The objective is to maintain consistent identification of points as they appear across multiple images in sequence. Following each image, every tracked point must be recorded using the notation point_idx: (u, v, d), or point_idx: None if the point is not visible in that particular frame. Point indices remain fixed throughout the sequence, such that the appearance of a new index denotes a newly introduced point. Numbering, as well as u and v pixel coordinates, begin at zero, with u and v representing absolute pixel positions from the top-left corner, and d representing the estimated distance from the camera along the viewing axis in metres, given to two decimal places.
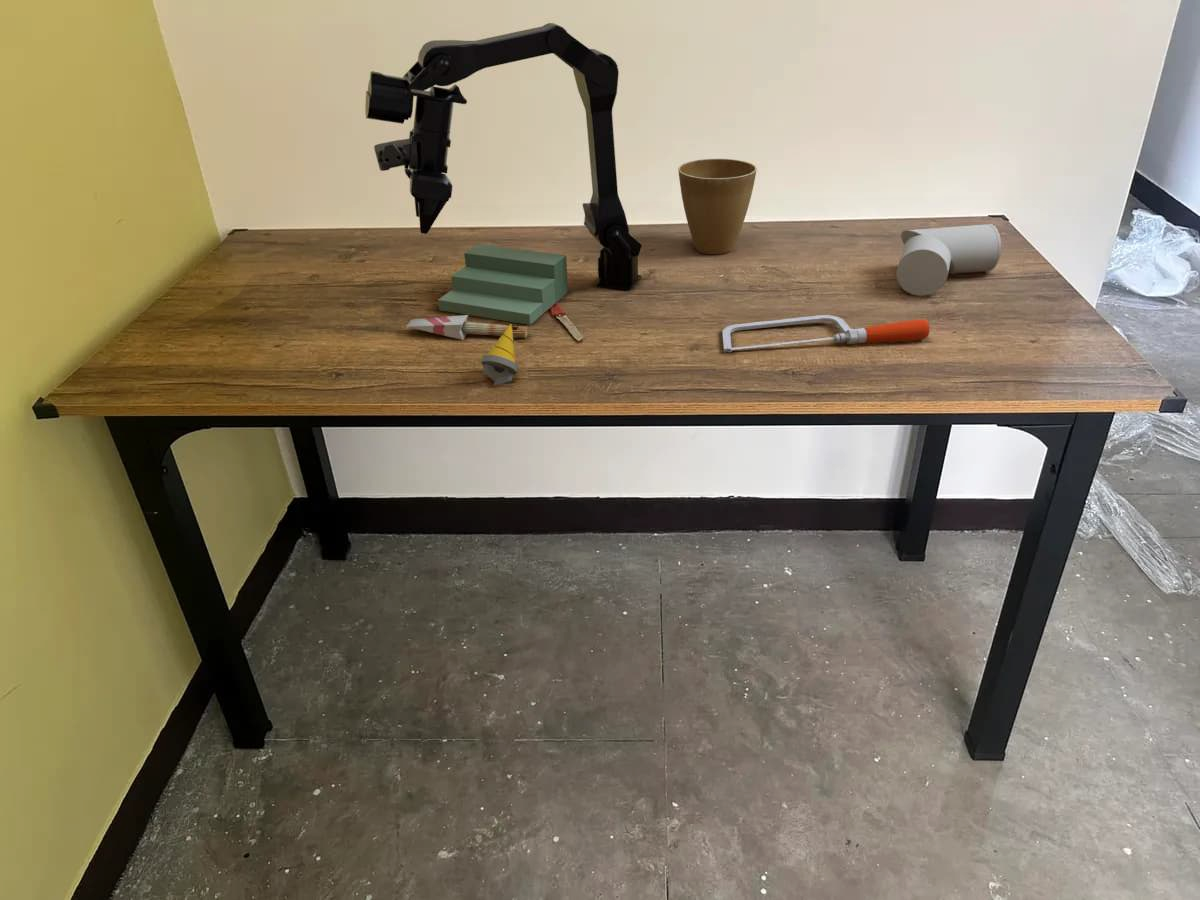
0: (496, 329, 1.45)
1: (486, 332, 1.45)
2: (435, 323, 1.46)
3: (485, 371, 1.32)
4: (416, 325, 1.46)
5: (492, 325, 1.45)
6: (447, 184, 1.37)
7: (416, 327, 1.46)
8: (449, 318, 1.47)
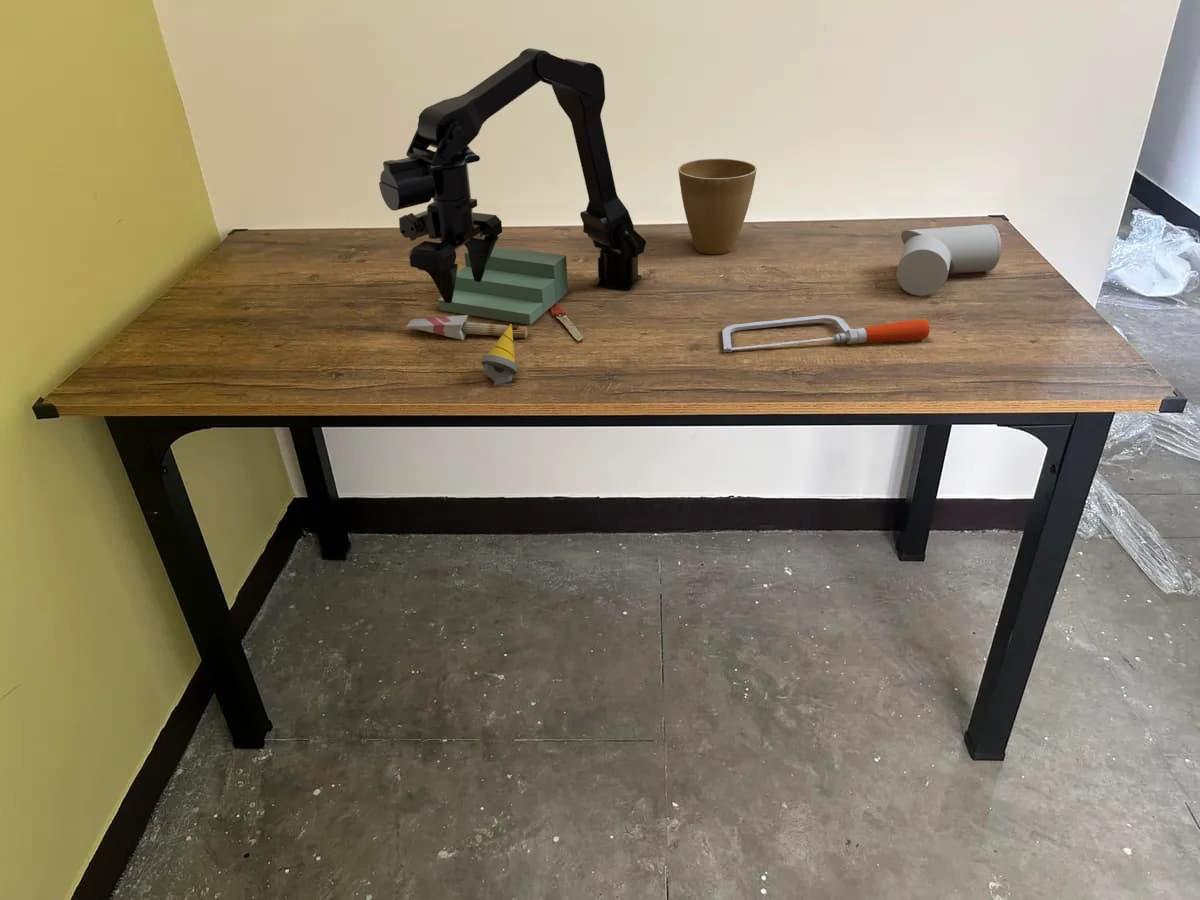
0: (496, 329, 1.45)
1: (486, 332, 1.45)
2: (435, 323, 1.46)
3: (485, 371, 1.32)
4: (416, 325, 1.46)
5: (492, 325, 1.45)
6: (437, 257, 1.30)
7: (416, 327, 1.46)
8: (449, 318, 1.47)
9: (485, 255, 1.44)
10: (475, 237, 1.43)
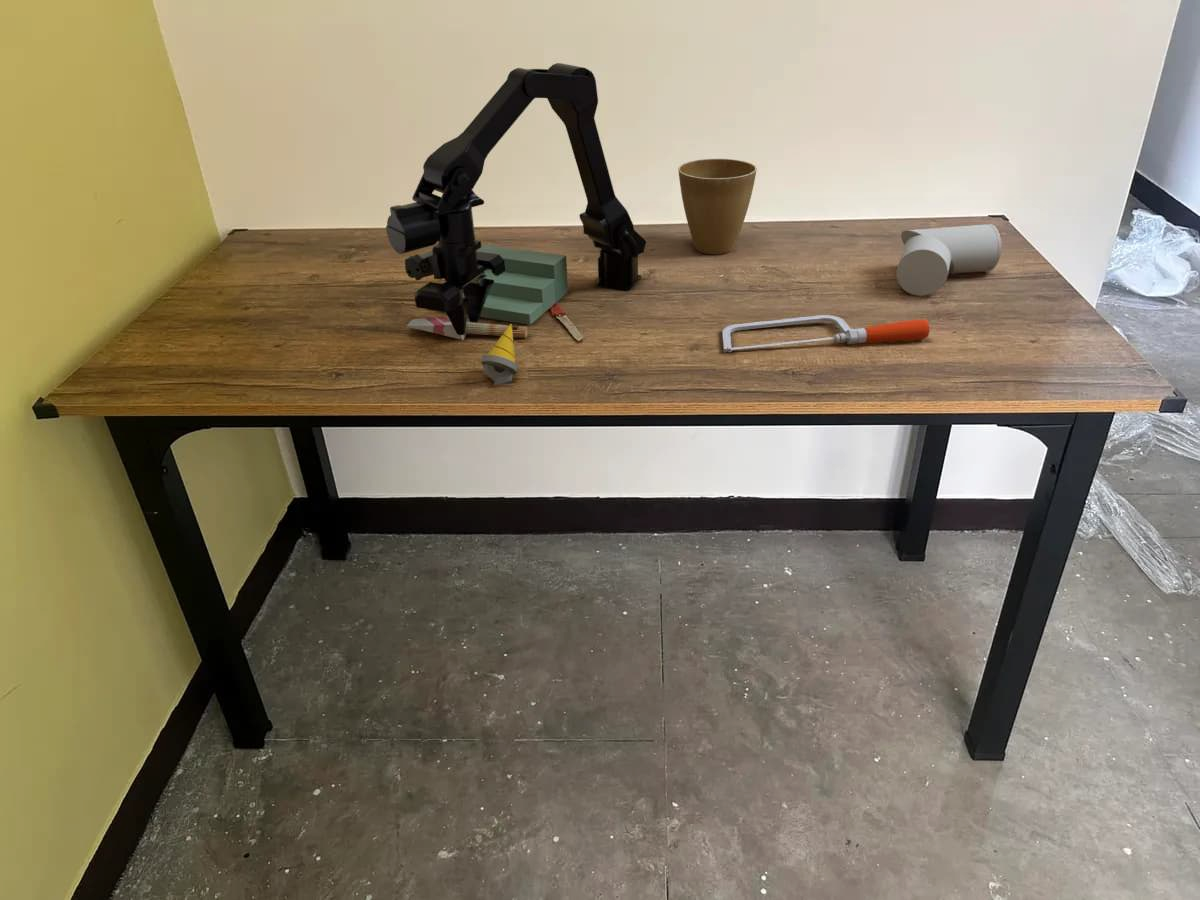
0: (496, 329, 1.45)
1: (486, 331, 1.45)
2: (435, 323, 1.46)
3: (485, 371, 1.32)
4: (416, 325, 1.46)
5: (492, 325, 1.45)
6: (442, 298, 1.34)
7: (416, 327, 1.46)
8: None
9: (481, 299, 1.45)
10: (471, 281, 1.45)
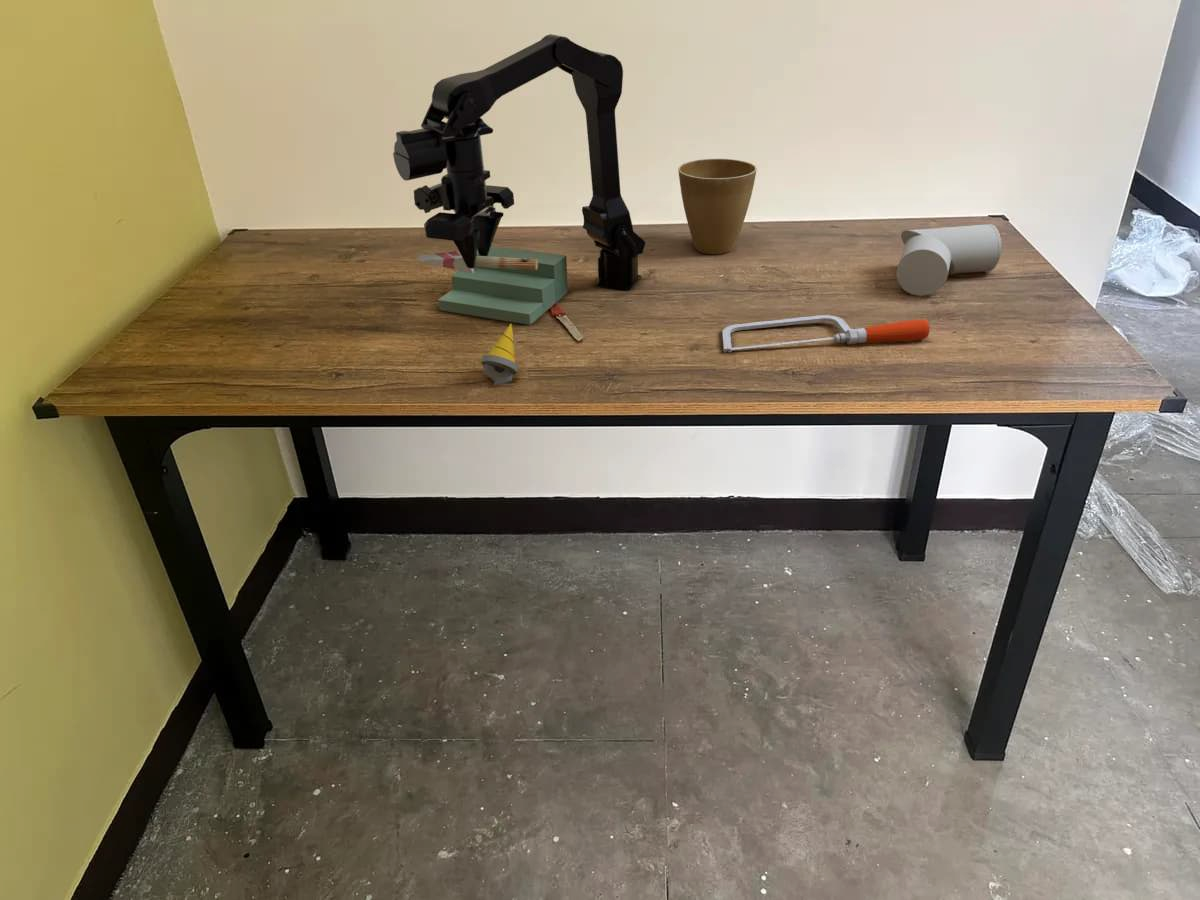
0: (506, 262, 1.44)
1: (496, 265, 1.44)
2: (445, 257, 1.45)
3: (485, 371, 1.32)
4: (426, 259, 1.46)
5: (502, 258, 1.44)
6: (452, 227, 1.33)
7: (426, 261, 1.45)
8: (459, 252, 1.46)
9: (490, 232, 1.44)
10: (480, 214, 1.44)
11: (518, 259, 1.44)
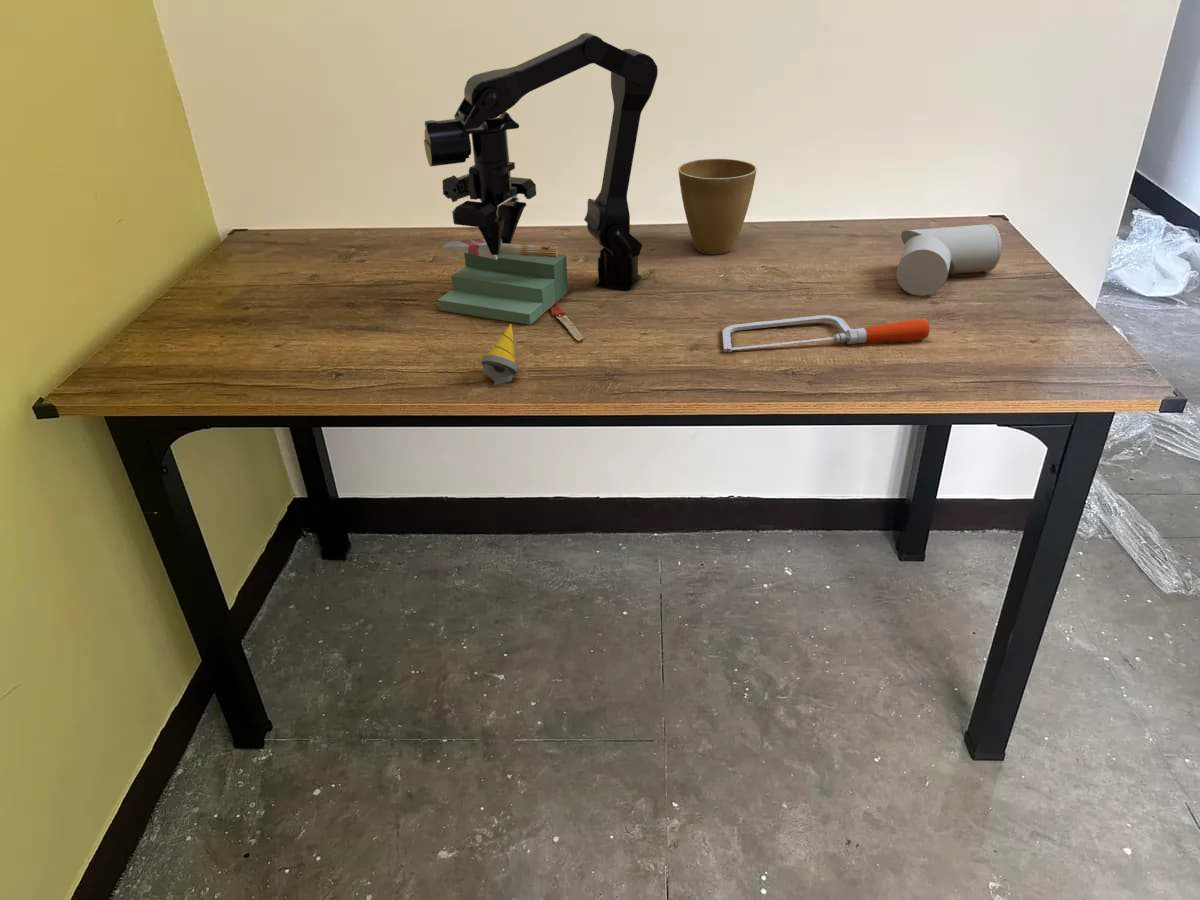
0: (528, 249, 1.52)
1: (519, 252, 1.52)
2: (470, 244, 1.53)
3: (485, 371, 1.32)
4: (452, 246, 1.53)
5: (524, 245, 1.52)
6: (479, 214, 1.41)
7: (452, 248, 1.53)
8: (483, 239, 1.54)
9: (514, 220, 1.52)
10: (504, 204, 1.52)
11: (539, 247, 1.52)
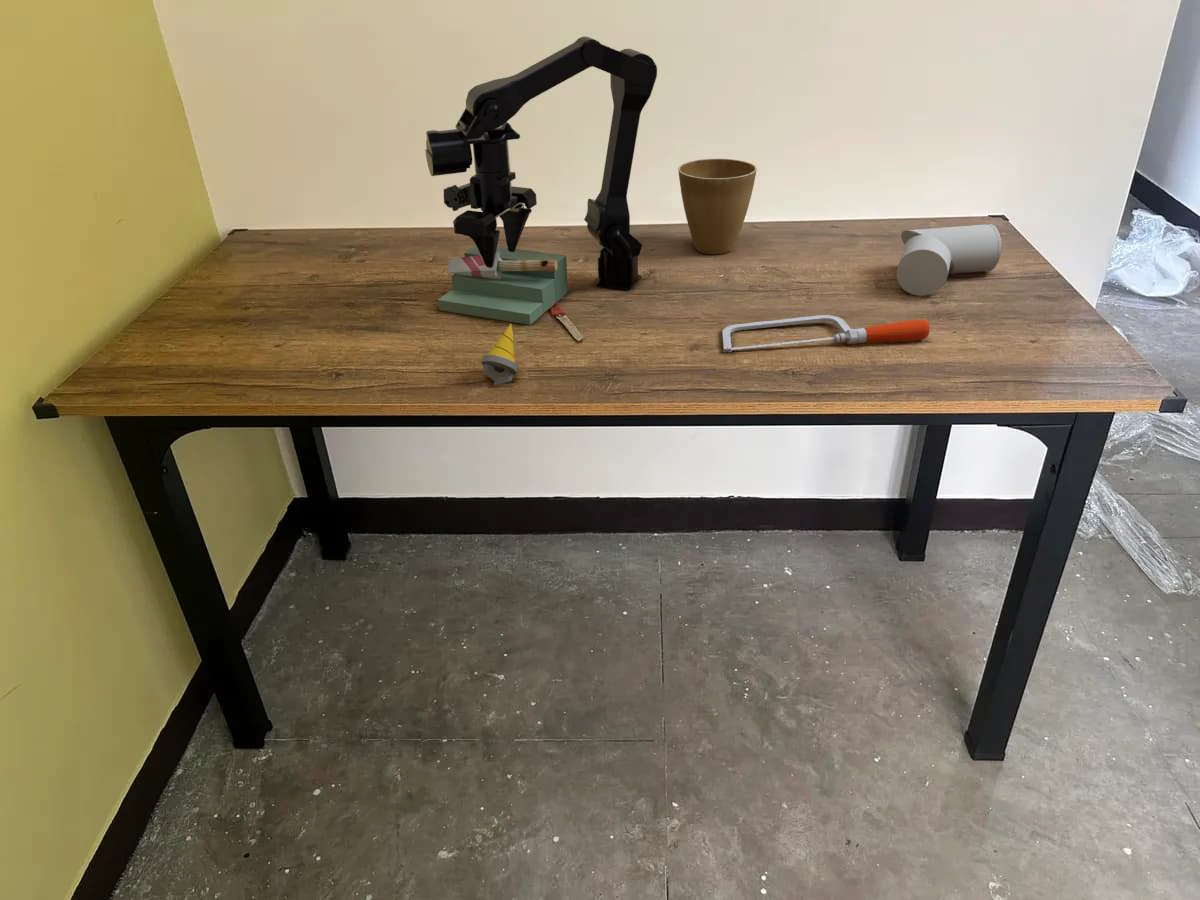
0: (527, 267, 1.53)
1: (519, 270, 1.54)
2: (472, 268, 1.55)
3: (485, 371, 1.32)
4: (455, 270, 1.56)
5: (523, 263, 1.53)
6: (480, 224, 1.41)
7: (456, 273, 1.56)
8: None
9: (519, 226, 1.55)
10: (510, 210, 1.54)
11: (538, 263, 1.52)
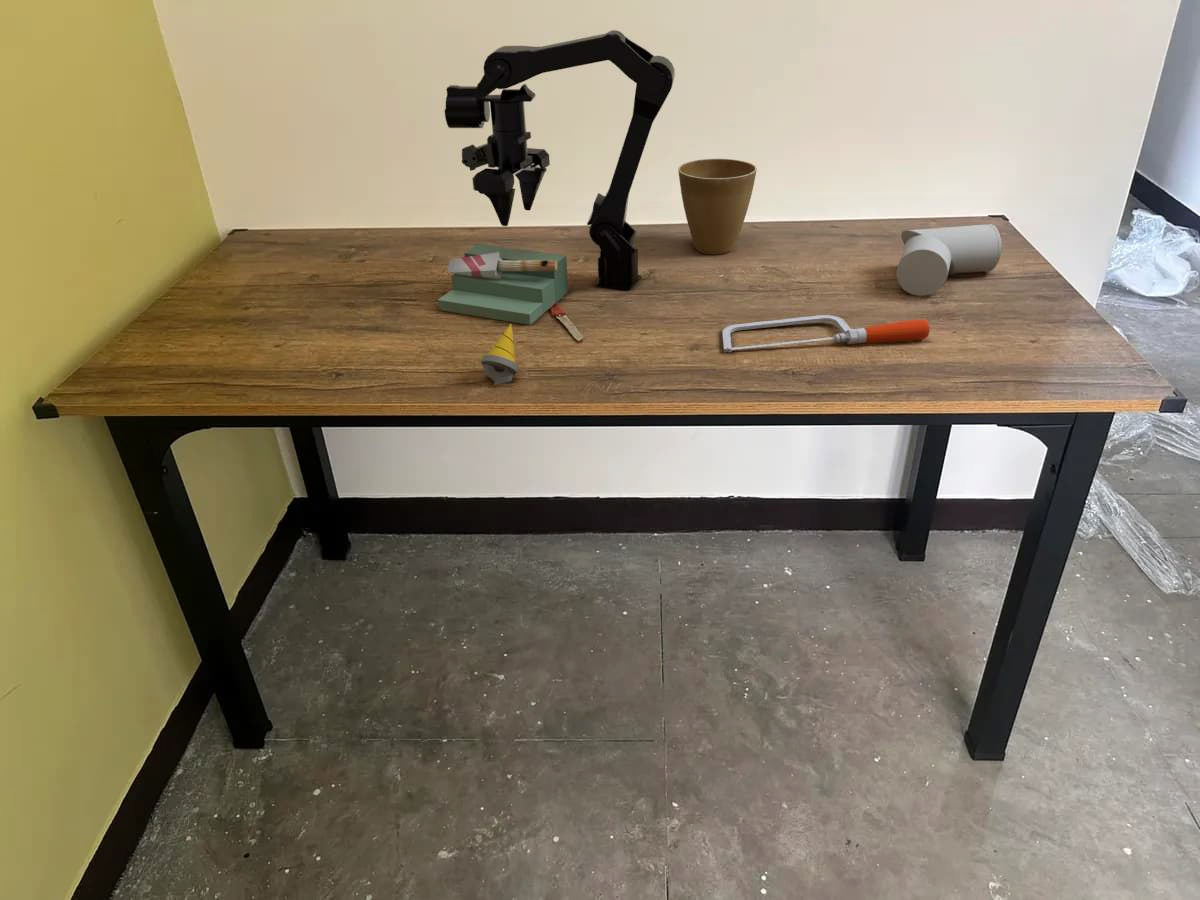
0: (527, 267, 1.53)
1: (519, 270, 1.54)
2: (472, 268, 1.55)
3: (485, 371, 1.32)
4: (455, 270, 1.56)
5: (523, 263, 1.53)
6: (499, 180, 1.47)
7: (456, 273, 1.56)
8: (483, 257, 1.55)
9: (535, 185, 1.61)
10: (526, 169, 1.61)
11: (538, 263, 1.52)
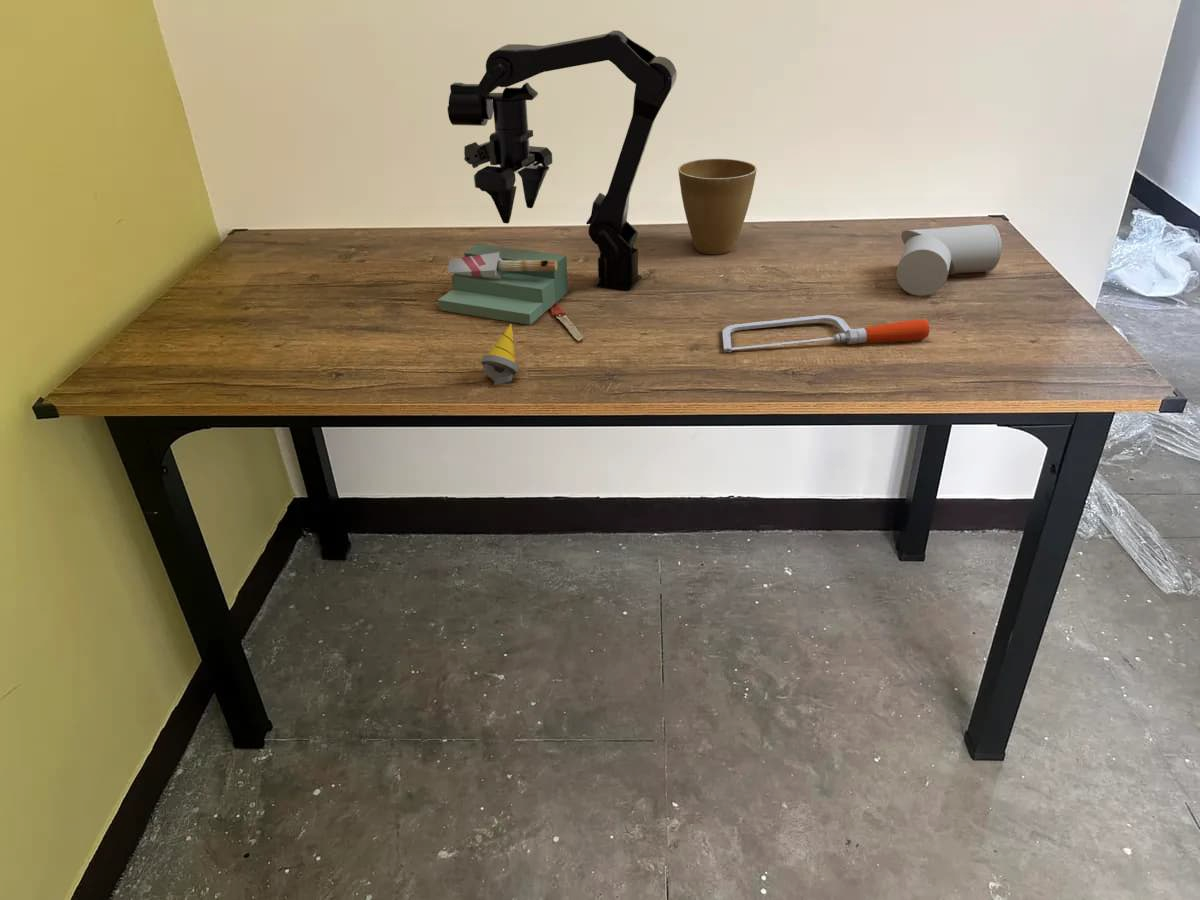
0: (527, 267, 1.53)
1: (519, 270, 1.54)
2: (472, 268, 1.55)
3: (485, 371, 1.32)
4: (455, 270, 1.56)
5: (523, 263, 1.53)
6: (500, 177, 1.48)
7: (456, 273, 1.56)
8: (483, 257, 1.55)
9: (537, 183, 1.62)
10: (529, 167, 1.62)
11: (538, 263, 1.52)
